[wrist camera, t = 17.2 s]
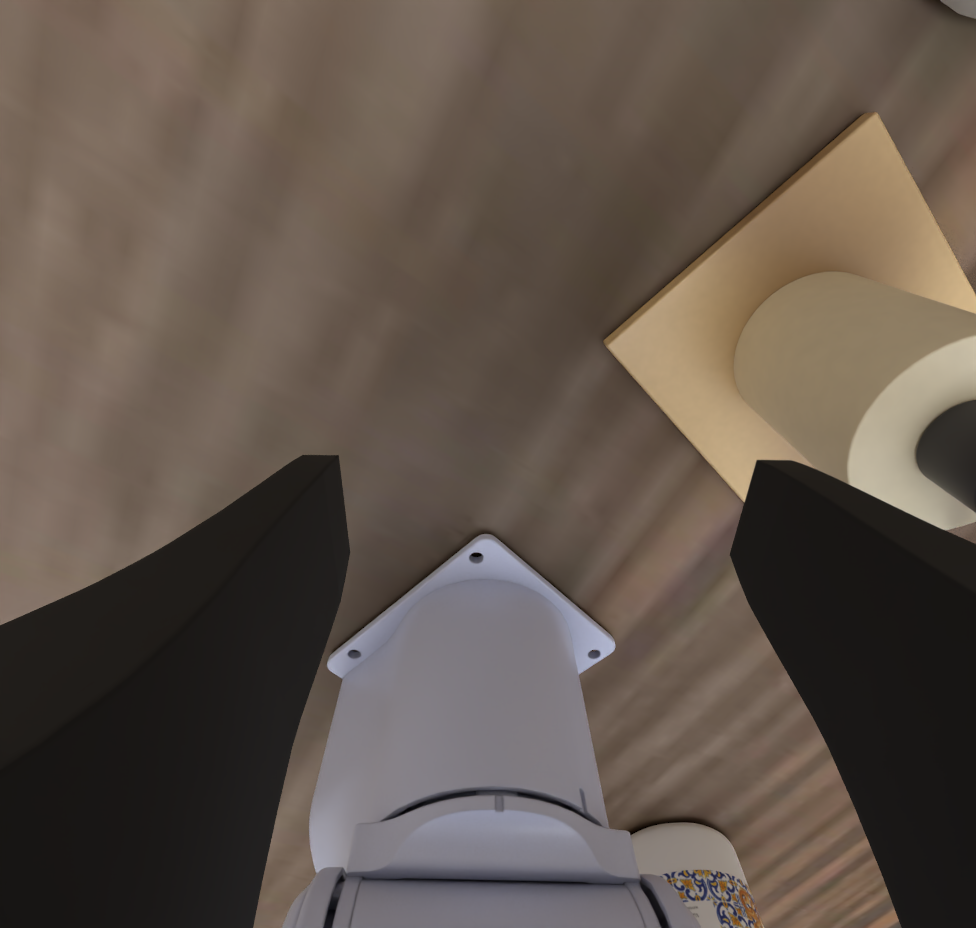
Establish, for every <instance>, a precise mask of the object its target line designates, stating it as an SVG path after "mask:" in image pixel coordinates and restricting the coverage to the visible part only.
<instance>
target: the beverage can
mask: <svg viewBox="0 0 976 928" xmlns="http://www.w3.org/2000/svg"><path fill="white" fill-rule="evenodd" d="M940 1H941V2H943V3H944V4H945V5H947V6H948V7H950V8H951V9H953V10H954V11H955V12H957V13H958V14H960V15H964V16H967V17H971V18H975V19H976V0H940Z"/></svg>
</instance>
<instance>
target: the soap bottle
mask: <svg viewBox="0 0 976 928" xmlns="http://www.w3.org/2000/svg"><path fill="white" fill-rule="evenodd" d="M734 378H735V382H736V385H737V388H738V390H739V393H740V395H741V396H742V398H743V399H744V401H745V402H746V403H747V404H748V405H749V406H750V407H751V408H752V409H753V410H754V411H755V412H756V413H757V414H758V415H759V416H760V417H761V418H763V419H764V420H765V421H766V422H767V423H768V424H769V425H770V426H771V427H772V428H773V429H774V430H775V431H777V432H778V433H779V434H780V435H781V436H782V437H783V438H784V439H785V440H786V441H787V442H788V443H789V444H791V445H792V446H793V447H794V448H795V449H796V450H797V451H798V452H799V453H800V454H801V455H802V456H803V457H805V458H806V459H807V460H808V461H809V462H810V463H811V464H812V465H813V466H814V467H815V468H816V469H817V470H819V471H821V472H823V473H826V474H828V475H830V476H832V477H834V478H837V479H839V480H841V481H843V482H845V483H847V484H849V485H851V486H853V487H855V488H857V489H860V490H862V491H864V492H866V493H868V494H870V495H872V496H874V497H876V498H878V499H880V500H882V501H884V502H886V503H888V504H890V505H892V506H894V507H897V508H899V509H901V510H903V511H905V512H907V513H909V514H911V515H913V516H915V517H917V518H919V519H922V520H924V521H926V522H928V523H930V524H932V525H934V526H937V527H939V528H941V529H943V530H948V529H953V528H957V527H961V526H964V525H967V524H970V523H973V522H976V314H975V313H972V312H969V311H966V310H963V309H959V308H956V307H953V306H950V305H947V304H944V303H941V302H938V301H935V300H932V299H929V298H926V297H922V296H919V295H916V294H913V293H910V292H907V291H904V290H901V289H898V288H895V287H892V286H888V285H885V284H882V283H879V282H876V281H873V280H870V279H867V278H864V277H861V276H858V275H854V274H850V273H846V272H837V271H834V272H821V273H816V274H812V275H808V276H805V277H802V278H800V279H797V280H795V281H793V282H791V283H789V284H787V285H785V286H784V287H782V288H780V289H779V290H778V291H776V292H775V293H773V294H772V295H771V296H770V297H769V298H767V299H766V300H765V301H764V302H763V303H762V304H761V305H760V306H759V307H758V309H757V310H756V311H755V312H754V313H753V315H752V316H751V317H750V319H749V320H748V322H747V324H746V325H745V327H744V329H743V331H742V333H741V335H740V337H739V340H738V343H737V346H736V350H735V356H734Z"/></svg>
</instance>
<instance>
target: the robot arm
mask: <svg viewBox="0 0 976 928" xmlns="http://www.w3.org/2000/svg"><path fill="white" fill-rule="evenodd" d="M474 552H479V553H481V554H482V555H481V556H479V557H473V556H471V554H472V553H474ZM349 555H350V547H349V539H348V530H347V522H346V513H345V505H344V496H343V488H342V479H341V471H340V463H339V455H302V456H300V457H299V458H297V459H295V460H293V461H292V462H290V463H289V464H287V465H286V466H284V467H283V468H282V469H280V470H279V471H277V472H276V473H274V474H273V475H272V476H270V477H269V478H267V479H266V480H265V481H263V482H262V483H260V484H259V485H257V486H256V487H255V488H253V489H252V490H250V491H249V492H247V493H246V494H245V495H243V496H242V497H240V498H239V499H237V500H236V501H234V502H233V503H232V504H230V505H229V506H227V507H226V508H224V509H223V510H221V511H220V512H218V513H217V514H215V515H214V516H212V517H210V518H209V519H207V520H206V521H204V522H202V523H201V524H199V525H198V526H196V527H194V528H193V529H191V530H190V531H188V532H187V533H185V534H183V535H182V536H180V537H179V538H177V539H175V540H174V541H172V542H171V543H169V544H167V545H166V546H164V547H162V548H160V549H159V550H157V551H155V552H154V553H152V554H150V555H148V556H146V557H144V558H143V559H141V560H139V561H137V562H135V563H133V564H132V565H130V566H128V567H126V568H124V569H122V570H120V571H118V572H116V573H114V574H112V575H110V576H108V577H106V578H104V579H102V580H101V581H99V582H96V583H94V584H92V585H90V586H88V587H86V588H84V589H82V590H80V591H77V592H75V593H73V594H71V595H68V596H66V597H64V598H62V599H59V600H57V601H55V602H53V603H50V604H48V605H46V606H43V607H41V608H39V609H37V610H34V611H32V612H30V613H28V614H25V615H23V616H21V617H19V618H16V619H14V620H12V621H10V622H7V623H5V624H2V625H0V928H253V925H254V920H255V915H256V910H257V905H258V900H259V895H260V890H261V884H262V880H263V875H264V870H265V866H266V861H267V856H268V852H269V847H270V843H271V838H272V833H273V829H274V824H275V819H276V815H277V810H278V806H279V802H280V797H281V793H282V789H283V784H284V780H285V776H286V772H287V767H288V763H289V759H290V754H291V750H292V746H293V743H294V739H295V736H296V733H297V729H298V726H299V722H300V719H301V716H302V713H303V710H304V707H305V704H306V701H307V699H308V696H309V693H310V690H311V687H312V684H313V681H314V678H315V675H316V672H317V669H318V667H319V664H320V661H321V658H322V655H323V652H324V649H325V646H326V643H327V640H328V637H329V634H330V632H331V629H332V626H333V623H334V620H335V617H336V614H337V611H338V608H339V604H340V601H341V596H342V592H343V587H344V582H345V577H346V571H347V566H348V560H349ZM730 556H731V559H732V562H733V564H734V567H735V570H736V573H737V575H738V578H739V581H740V584H741V586H742V588H743V591H744V593H745V596H746V598H747V601H748V603H749V605H750V607H751V609H752V611H753V612H754V614H755V616H756V618H757V620H758V622H759V623H760V625H761V627H762V629H763V631H764V632H765V634H766V636H767V638H768V640H769V641H770V643H771V645H772V647H773V648H774V650H775V652H776V654H777V655H778V657H779V659H780V661H781V662H782V664H783V666H784V668H785V669H786V671H787V673H788V675H789V676H790V678H791V680H792V682H793V683H794V685H795V687H796V689H797V690H798V692H799V694H800V696H801V697H802V699H803V701H804V703H805V704H806V706H807V708H808V710H809V711H810V713H811V715H812V717H813V718H814V720H815V722H816V724H817V726H818V728H819V730H820V732H821V734H822V736H823V738H824V740H825V742H826V744H827V746H828V748H829V750H830V752H831V755H832V757H833V759H834V761H835V764H836V766H837V768H838V771H839V773H840V775H841V777H842V780H843V782H844V784H845V786H846V789H847V791H848V793H849V795H850V798H851V800H852V802H853V805H854V807H855V809H856V812H857V814H858V817H859V819H860V822H861V824H862V826H863V829H864V831H865V834H866V836H867V839H868V841H869V844H870V846H871V849H872V851H873V854H874V856H875V858H876V861H877V863H878V866H879V868H880V871H881V873H882V876H883V878H884V881H885V884H886V886H887V889H888V892H889V895H890V897H891V900H892V903H893V905H894V908H895V911H896V914H897V916H898V919H899V922H900V924H901V927H902V928H976V544H974V543H972V542H970V541H968V540H965V539H963V538H961V537H958V536H956V535H954V534H952V533H949V532H947V531H945V530H943V529H941V528H939V527H937V526H934V525H932V524H930V523H928V522H926V521H924V520H922V519H919V518H917V517H915V516H913V515H911V514H909V513H907V512H905V511H903V510H901V509H899V508H897V507H894V506H892V505H890V504H888V503H886V502H884V501H882V500H880V499H878V498H876V497H874V496H872V495H870V494H868V493H866V492H864V491H862V490H860V489H857V488H855V487H853V486H851V485H849V484H847V483H845V482H843V481H841V480H839V479H837V478H834V477H832V476H830V475H828V474H826V473H823V472H821V471H819V470H817V469H814V468H812V467H809V466H807V465H804V464H801V463H798V462H796V461H792V460H757V461H756V464H755V468H754V471H753V475H752V478H751V482H750V485H749V489H748V492H747V496H746V499H745V503H744V506H743V510H742V513H741V517H740V520H739V524H738V527H737V531H736V534H735V538H734V541H733V545H732V548H731V552H730ZM614 649H615V642H614V638H613V637H612V636H611V635H610V634H609V633H608V632H607V631H605V630H604V629H603V628H602V627H601V626H600V625H598V624H597V623H596V622H595V621H594V620H592V619H591V618H590V617H589V616H588V615H587V614H585V613H584V612H583V611H582V610H581V609H580V608H578V607H577V606H576V605H575V604H574V603H572V602H571V601H570V600H569V599H568V598H567V597H565V596H564V595H563V594H562V593H561V592H560V591H558V590H557V589H556V588H555V587H554V586H552V585H551V584H550V583H549V582H548V581H547V580H545V579H544V578H543V577H542V576H541V575H540V574H538V573H537V572H536V571H535V570H534V569H532V568H531V567H530V566H529V565H528V564H527V563H525V562H524V561H523V560H522V559H521V558H520V557H518V556H517V555H516V554H515V553H514V552H512V551H511V550H510V549H509V548H508V547H507V546H505V545H504V544H503V543H502V542H501V541H500V540H498V539H497V538H496V537H495V536H493V535H490V534H482V535H479V536H477V537H476V538H475V539H473V540H472V541H471V542H470V543H468V544H467V545H466V546H465V547H463V548H462V549H461V550H460V551H459V552H457V553H456V554H455V555H454V556H452V557H451V558H450V559H449V560H447V561H446V562H445V563H444V564H442V565H441V566H440V567H439V568H437V569H436V570H435V571H434V572H432V573H431V574H430V575H429V576H428V577H426V578H425V579H424V580H423V581H421V582H420V583H419V584H418V585H416V586H415V587H414V588H413V589H411V590H410V591H409V592H408V593H406V594H405V595H404V596H403V597H401V598H400V599H399V600H398V601H397V602H395V603H394V604H393V605H392V606H390V607H389V608H388V609H387V610H385V611H384V612H383V613H382V614H380V615H379V616H378V617H377V618H375V619H374V620H373V621H372V622H370V623H369V624H368V625H367V626H366V627H364V628H363V629H362V630H361V631H359V632H358V633H357V634H356V635H354V636H353V637H352V638H351V639H349V640H348V641H347V642H346V643H344V644H343V645H342V646H341V647H339V648H338V649H337V650H336V651H335V652H333V653H332V654H331V655H330V656H329V659H328V662H327V667H328V669H329V670H330V671H331V672H332V673H334V674H336V675H337V676H339V677H340V678H342V679H343V680H342V684H341V688H340V692H339V696H338V700H337V704H336V708H335V712H334V716H333V720H332V724H331V728H330V732H329V736H328V740H327V744H326V748H325V752H324V756H323V760H322V764H321V768H320V772H319V776H318V780H317V784H316V788H315V792H314V796H313V800H312V805H311V811H310V820H309V837H310V847H311V853H312V858H313V863H314V867H315V871H316V876H315V877H314V879H313V880H312V882H311V883H310V884H309V885H308V886H307V887H306V888H305V889H304V890H303V891H302V892H301V893H300V894H299V895H298V896H297V897H296V899H295V900H294V902H293V903H292V905H291V907H290V909H289V911H288V913H287V916H286V918H285V921H284V923H283V926H282V928H701V926H700V924H699V922H698V921H697V919H696V918H695V916H694V915H693V914H692V912H691V911H690V910H689V909H688V908H687V906H686V905H685V904H684V903H683V901H682V899H681V898H680V896H679V895H678V894H677V892H676V891H675V889H674V888H673V887H672V886H671V885H670V884H669V883H668V882H667V881H666V880H665V879H664V878H662V877H659V876H656V875H653V874H639V870H638V866H637V861H636V857H635V853H634V848H633V844H632V840H631V835H630V832H628V831H627V830H617V829H610V828H609V825H608V820H607V815H606V810H605V805H604V800H603V795H602V790H601V784H600V779H599V774H598V769H597V764H596V759H595V754H594V749H593V744H592V739H591V734H590V729H589V724H588V719H587V714H586V709H585V704H584V699H583V694H582V689H581V684H580V679H579V674H580V673H582V672H583V671H585V670H586V669H588V668H589V667H591V666H592V665H594V664H595V663H597V662H599V661H600V660H602V659H603V658H605V657H606V656H608V655H609V654H611V653H612V652H613V651H614ZM352 650H357V651H359V652H355V651H352ZM591 650H596V651H594V652H590V651H591Z"/></svg>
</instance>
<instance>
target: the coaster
mask: <svg viewBox="0 0 976 928" xmlns="http://www.w3.org/2000/svg"><path fill="white" fill-rule="evenodd" d="M834 271H837V272H846V273H850V274H854V275H858V276H861V277H864V278H867V279H870V280H873V281H876V282H879V283H882V284H885V285H888V286H892V287H895V288H898V289H901V290H904V291H907V292H910V293H913V294H916V295H919V296H922V297H926V298H929V299H932V300H935V301H938V302H941V303H944V304H947V305H950V306H953V307H956V308H959V309H963V310H966V311H969V312H972V313H975V314H976V294H975V293H974V291H973V289H972V287H971V285H970V283H969V281H968V280H967V278H966V276H965V274H964V272H963V270H962V269H961V267H960V265H959V263H958V261H957V259H956V257H955V256H954V254H953V252H952V250H951V248H950V246H949V244H948V243H947V241H946V239H945V237H944V235H943V233H942V231H941V230H940V228H939V226H938V224H937V222H936V220H935V218H934V217H933V215H932V213H931V211H930V209H929V207H928V205H927V204H926V202H925V200H924V198H923V196H922V194H921V192H920V191H919V189H918V187H917V185H916V183H915V181H914V180H913V178H912V176H911V174H910V172H909V170H908V168H907V167H906V165H905V163H904V161H903V159H902V157H901V155H900V154H899V152H898V150H897V148H896V146H895V144H894V142H893V141H892V139H891V137H890V135H889V133H888V131H887V129H886V128H885V126H884V124H883V122H882V120H881V118H880V116H879V115H878V113H877V112H871V113H865V114H863V115H862V116H860V117H859V118H858V119H857V120H856V121H855V122H854V123H852V124H851V125H850V126H849V127H848V128H847V129H846V130H844V131H843V132H842V133H841V134H840V135H839V136H838V137H836V138H835V139H834V140H833V141H832V142H831V143H829V144H828V145H827V146H826V147H825V148H824V149H823V150H821V151H820V152H819V153H818V154H817V155H816V156H815V157H813V158H812V159H811V160H810V161H809V162H808V163H807V164H805V165H804V166H803V167H802V168H801V169H800V170H799V171H797V172H796V173H795V174H794V175H793V176H792V177H790V178H789V179H788V180H787V181H786V182H785V183H784V184H782V185H781V186H780V187H779V188H778V189H777V190H776V191H774V192H773V193H772V194H771V195H770V196H769V197H768V198H766V199H765V200H764V201H763V202H762V203H761V204H759V205H758V206H757V207H756V208H755V209H754V210H753V211H751V212H750V213H749V214H748V215H747V216H746V217H745V218H743V219H742V220H741V221H740V222H739V223H738V224H737V225H735V226H734V227H733V228H732V229H731V230H730V231H729V232H727V233H726V234H725V235H724V236H723V237H722V238H720V239H719V240H718V241H717V242H716V243H715V244H714V245H712V246H711V247H710V248H709V249H708V250H707V251H706V252H704V253H703V254H702V255H701V256H700V257H699V258H698V259H696V260H695V261H694V262H693V263H692V264H691V265H690V266H688V267H687V268H686V269H685V270H684V271H683V272H681V273H680V274H679V275H678V276H677V277H676V278H675V279H673V280H672V281H671V282H670V283H669V284H668V285H667V286H665V287H664V288H663V289H662V290H661V291H660V292H659V293H657V294H656V295H655V296H654V297H653V298H652V299H650V300H649V301H648V302H647V303H646V304H645V305H644V306H642V307H641V308H640V309H639V310H638V311H637V312H636V313H634V314H633V315H632V316H631V317H630V318H629V319H628V320H626V321H625V322H624V323H623V324H622V325H621V326H620V327H618V328H617V329H616V330H615V331H614V332H613V333H611V334H610V335H609V336H608V337H607V338H606V339H605V340H604V341H603V343H604V344H605V346H606V347H607V349H608V350H609V351H610V352H611V353H612V354H613V355H614V356H615V358H616V359H617V360H618V361H619V362H620V363H621V364H622V365H623V367H624V368H625V369H626V370H627V371H628V372H629V373H630V375H631V376H632V377H633V378H634V379H635V380H636V381H637V382H638V384H639V385H640V386H641V387H642V388H643V389H644V390H645V391H646V393H647V394H648V395H649V396H650V397H651V398H652V399H653V400H654V402H655V403H656V404H657V405H658V406H659V407H660V408H661V410H662V411H663V412H664V413H665V414H666V415H667V416H668V417H669V419H670V420H671V421H672V422H673V423H674V424H675V425H676V426H677V428H678V429H679V430H680V431H681V432H682V433H683V434H684V436H685V437H686V438H687V439H688V440H689V441H690V442H691V443H692V445H693V446H694V447H695V448H696V449H697V450H698V451H699V452H700V454H701V455H702V456H703V457H704V458H705V459H706V460H707V461H708V463H709V464H710V465H711V466H712V467H713V468H714V469H715V471H716V472H717V473H718V474H719V475H720V476H721V477H722V478H723V480H724V481H725V482H726V483H727V484H728V485H729V486H730V487H731V489H732V490H733V491H734V492H735V493H736V494H737V495H738V496H739V498H740V499H741V500H742V501H743V502H744V503H745V499H746V496H747V492H748V489H749V485H750V482H751V478H752V475H753V471H754V468H755V464H756V461H757V460H792V461H796V462H798V463H801V464H804V465H807V466H809V467H812V468H814V469H816V468H815V467H814V466H813V465H812V464H811V463H810V462H809V461H808V460H807V459H806V458H805V457H803V456H802V455H801V454H800V453H799V452H798V451H797V450H796V449H795V448H794V447H793V446H792V445H791V444H789V443H788V442H787V441H786V440H785V439H784V438H783V437H782V436H781V435H780V434H779V433H778V432H777V431H775V430H774V429H773V428H772V427H771V426H770V425H769V424H768V423H767V422H766V421H765V420H764V419H763V418H761V417H760V416H759V415H758V414H757V413H756V412H755V411H754V410H753V409H752V408H751V407H750V406H749V405H748V404H747V403H746V402H745V401H744V399H743V398H742V396H741V395H740V393H739V390H738V388H737V385H736V382H735V378H734V356H735V350H736V346H737V343H738V340H739V337H740V335H741V333H742V331H743V329H744V327H745V325H746V324H747V322H748V320H749V319H750V317H751V316H752V315H753V313H754V312H755V311H756V310H757V309H758V307H759V306H760V305H761V304H762V303H763V302H764V301H765V300H766V299H767V298H769V297H770V296H771V295H772V294H773V293H775V292H776V291H778V290H779V289H780V288H782V287H784V286H785V285H787V284H789V283H791V282H793V281H795V280H797V279H800V278H802V277H805V276H808V275H812V274H816V273H821V272H834Z"/></svg>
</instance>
